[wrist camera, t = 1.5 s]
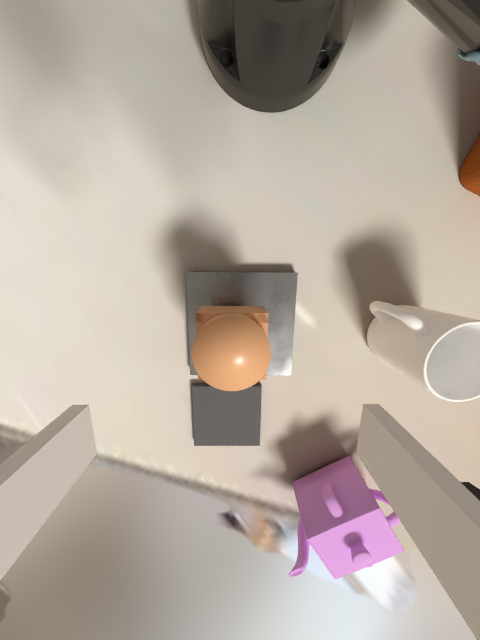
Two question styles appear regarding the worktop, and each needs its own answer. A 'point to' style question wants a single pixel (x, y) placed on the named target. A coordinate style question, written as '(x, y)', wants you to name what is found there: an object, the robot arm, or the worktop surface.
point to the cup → (428, 348)
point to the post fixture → (249, 291)
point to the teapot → (342, 520)
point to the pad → (226, 416)
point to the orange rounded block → (472, 170)
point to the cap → (231, 346)
